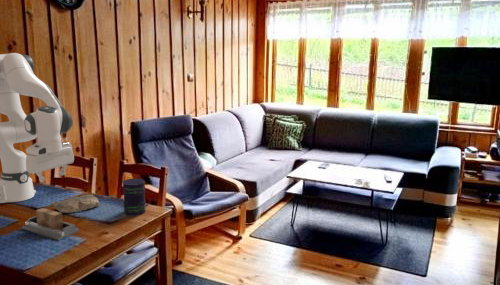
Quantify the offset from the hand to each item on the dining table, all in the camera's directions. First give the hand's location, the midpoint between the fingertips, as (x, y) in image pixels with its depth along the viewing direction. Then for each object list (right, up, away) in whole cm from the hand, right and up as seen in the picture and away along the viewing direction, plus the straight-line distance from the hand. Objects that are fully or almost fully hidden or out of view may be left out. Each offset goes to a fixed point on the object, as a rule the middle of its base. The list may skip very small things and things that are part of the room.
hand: (52, 178), depth 170 cm
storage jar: (+29, -18, +20) cm, 39 cm away
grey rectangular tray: (0, -22, -1) cm, 22 cm away
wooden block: (0, -21, -1) cm, 21 cm away
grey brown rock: (0, -17, +24) cm, 29 cm away
